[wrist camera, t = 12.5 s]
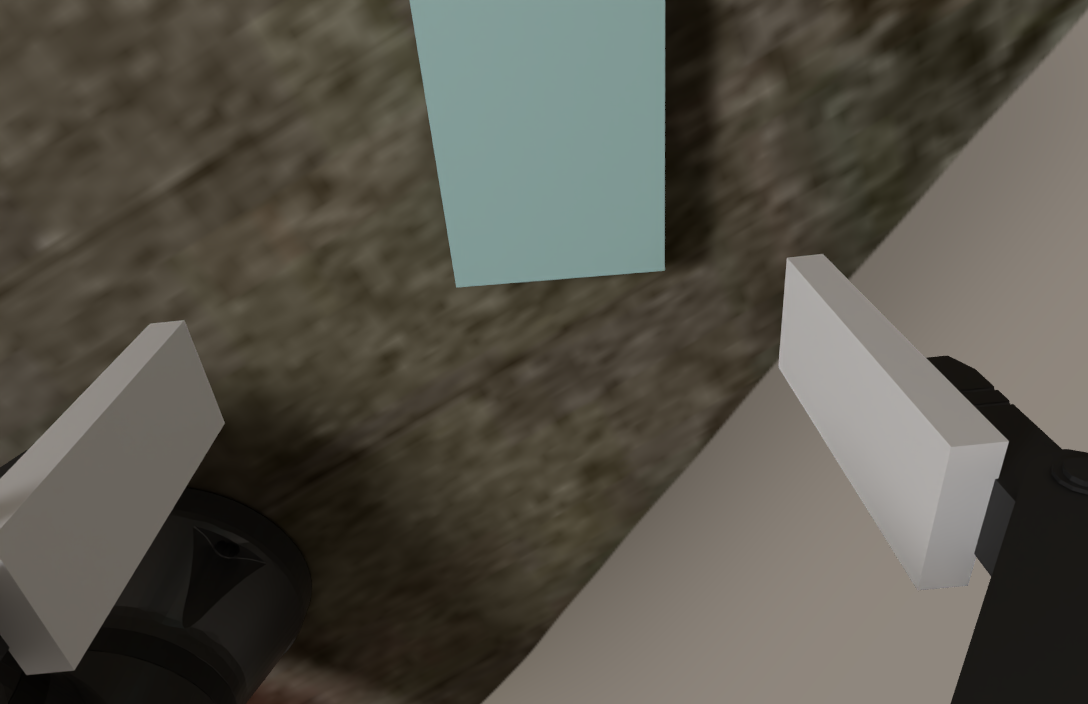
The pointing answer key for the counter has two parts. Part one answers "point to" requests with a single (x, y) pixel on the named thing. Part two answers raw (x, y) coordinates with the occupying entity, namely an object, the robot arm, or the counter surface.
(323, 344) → the counter surface
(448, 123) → the lid
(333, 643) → the counter surface
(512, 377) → the counter surface
